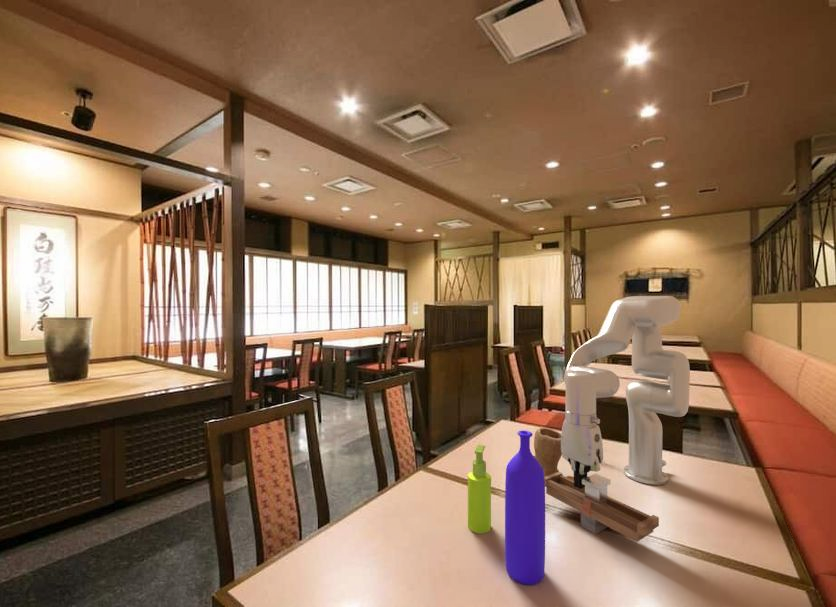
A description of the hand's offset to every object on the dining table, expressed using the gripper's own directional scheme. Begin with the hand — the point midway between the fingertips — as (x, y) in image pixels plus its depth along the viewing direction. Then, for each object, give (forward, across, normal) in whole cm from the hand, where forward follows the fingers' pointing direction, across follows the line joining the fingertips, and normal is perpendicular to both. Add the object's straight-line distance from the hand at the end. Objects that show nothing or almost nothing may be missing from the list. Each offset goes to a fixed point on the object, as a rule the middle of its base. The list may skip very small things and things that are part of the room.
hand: (580, 486), depth 100 cm
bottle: (+9, -6, +28) cm, 30 cm away
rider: (+2, -4, 0) cm, 5 cm away
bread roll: (+9, +10, -12) cm, 18 cm away
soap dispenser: (+9, +12, +25) cm, 29 cm away
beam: (+9, -4, 0) cm, 10 cm away
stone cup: (+9, +23, -13) cm, 28 cm away
